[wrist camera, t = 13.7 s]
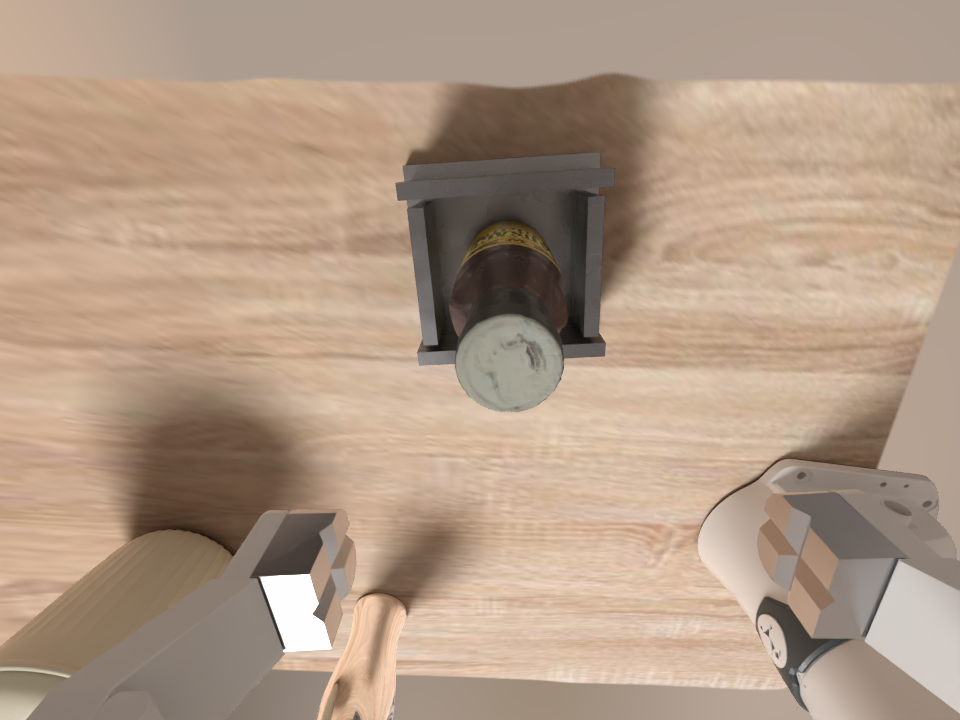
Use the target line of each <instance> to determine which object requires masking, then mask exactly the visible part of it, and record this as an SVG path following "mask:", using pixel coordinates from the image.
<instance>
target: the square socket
mask: <svg viewBox="0 0 960 720" xmlns="http://www.w3.org/2000/svg"><path fill="white" fill-rule="evenodd" d="M600 155H601V152H593V153H579V154H564V155H550V156H535V157H521V158H506V159H492V160H477V161H463V162H448V163H434V164H419V165H405V166H403V172H404V180H405V181H404V182H399V183H396V191H397V199H398V201H401V200H407V205H408V209H407V213H408V221H409V229H410V238H411V246H412V254H413V262H414V270H415V279H416V287H417V295H418V303H419V312H420V320H421V328H422V336H423V339H422V342H421V344H420V347H419V349H418V352H417V354H418V362H419V366H422V365H442V364H455V355H456V348H457V344H458V339H459V337H458V335H457V333H456V331H455V329H454V325H453V322H452V318H451V314H450V310H449V302H450V298H451V295H452V291H453V287H454V283H455V279H456V276H457V273H458V271H459V269H460V267H461V265H462V262H463V260H464V258H465V256H466V254H467V252H468V249H469V247H470V245H471V243H472V241H473V240H474V238H475V237H476V236H477V235H478V234H479V233H480V232H481V231H482V230H484V229H485V228H486V227H488V226H490V225H492V224H494V223H498V222H503V221H514V222H519V223H523V224H526V225H528V226H530V227H531V228H533V229H534V230H536V231H537V232H538V233H539V234H540V235H541V236H542V237H543V238H544V240H545V242H546V244H547V246H548V248H549V249H550V251H551V253H552V255H553V257H554V259H555V261H556V263H557V266H558V267H559V270H560V272H561V274H562V277H563V280H564V284H565V295H566V305H567V314H568V319H567V324H566V326H564V327H563V328H562V329H561V331H560V333H559V335H560V338H561V342H562V347H563V355H564V358H580V357H600V356H605V346H606V343H605V341H604V340H603V338H602V337H601V335H600V334H599V317H600V296H601V274H602V253H603V231H604V209H605V196H603V195H599V187H614V177H615V168H600Z"/></svg>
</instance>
